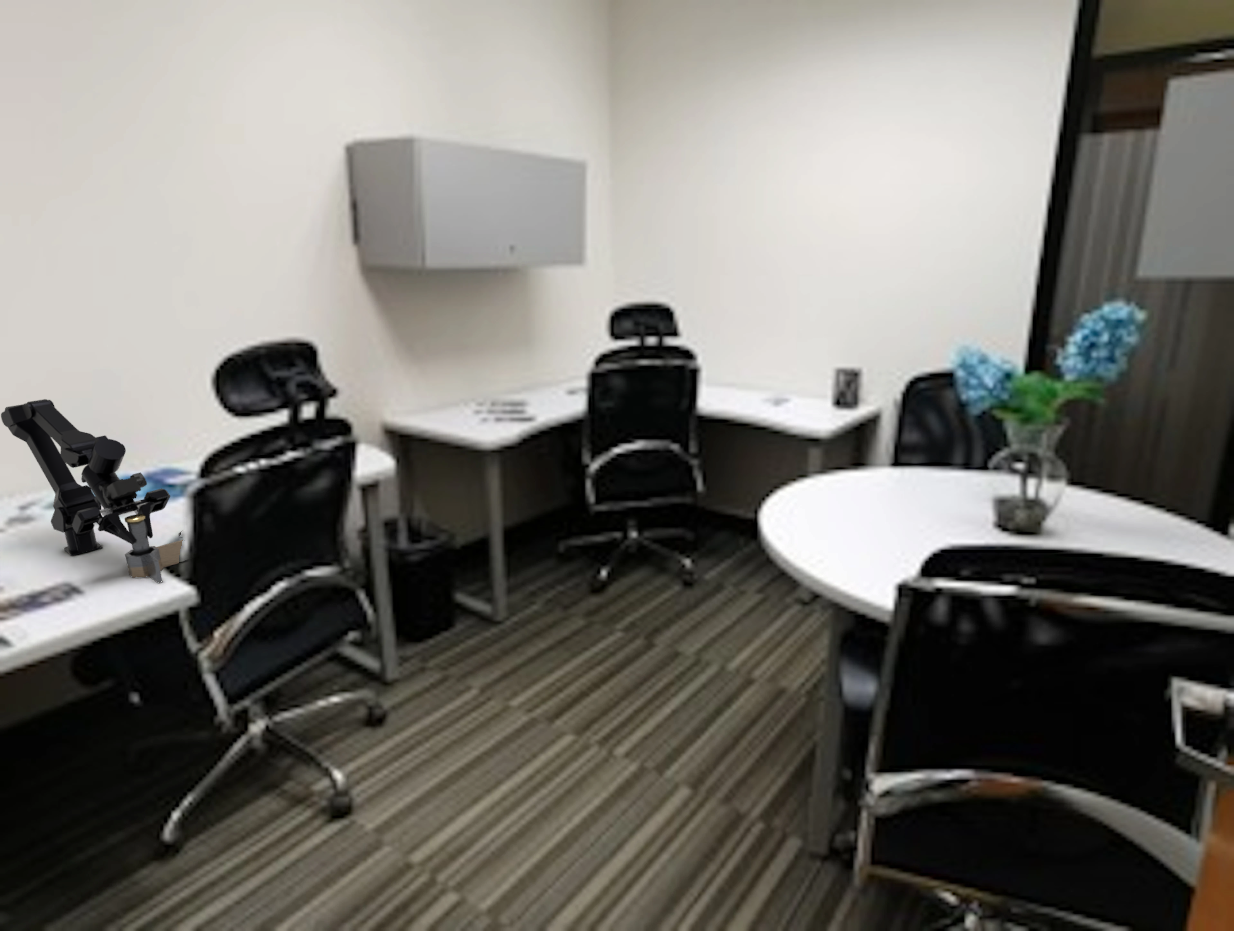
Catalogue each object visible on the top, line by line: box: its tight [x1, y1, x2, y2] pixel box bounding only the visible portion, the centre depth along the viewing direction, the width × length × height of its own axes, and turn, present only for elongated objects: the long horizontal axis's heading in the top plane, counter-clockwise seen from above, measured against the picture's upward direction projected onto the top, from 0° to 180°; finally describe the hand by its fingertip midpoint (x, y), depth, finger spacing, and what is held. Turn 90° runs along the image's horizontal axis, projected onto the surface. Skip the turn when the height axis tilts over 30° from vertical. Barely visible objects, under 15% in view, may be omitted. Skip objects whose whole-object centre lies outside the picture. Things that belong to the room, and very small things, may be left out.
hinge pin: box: [124, 513, 151, 556], centre depth 164 cm, size 4×4×12 cm
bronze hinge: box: [124, 539, 184, 583], centre depth 165 cm, size 12×12×5 cm
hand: (142, 540), depth 163 cm, fingers open, 4 cm apart
